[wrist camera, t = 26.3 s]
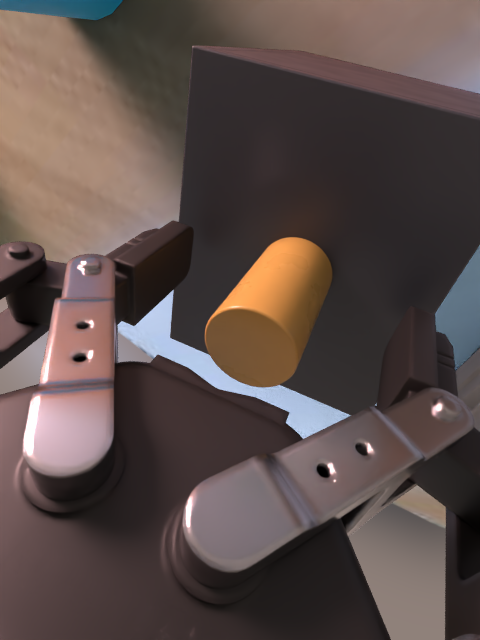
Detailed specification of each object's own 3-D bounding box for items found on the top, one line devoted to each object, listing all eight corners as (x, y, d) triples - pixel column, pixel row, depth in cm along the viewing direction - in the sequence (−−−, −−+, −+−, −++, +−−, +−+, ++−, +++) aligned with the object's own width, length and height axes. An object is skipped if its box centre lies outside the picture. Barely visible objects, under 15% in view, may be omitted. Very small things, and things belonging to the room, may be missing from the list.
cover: (256, 241, 29) (106, 408, 15) (300, 50, 21) (73, 38, 7) (386, 287, 27) (347, 527, 13) (485, 95, 19) (641, 190, 5)
